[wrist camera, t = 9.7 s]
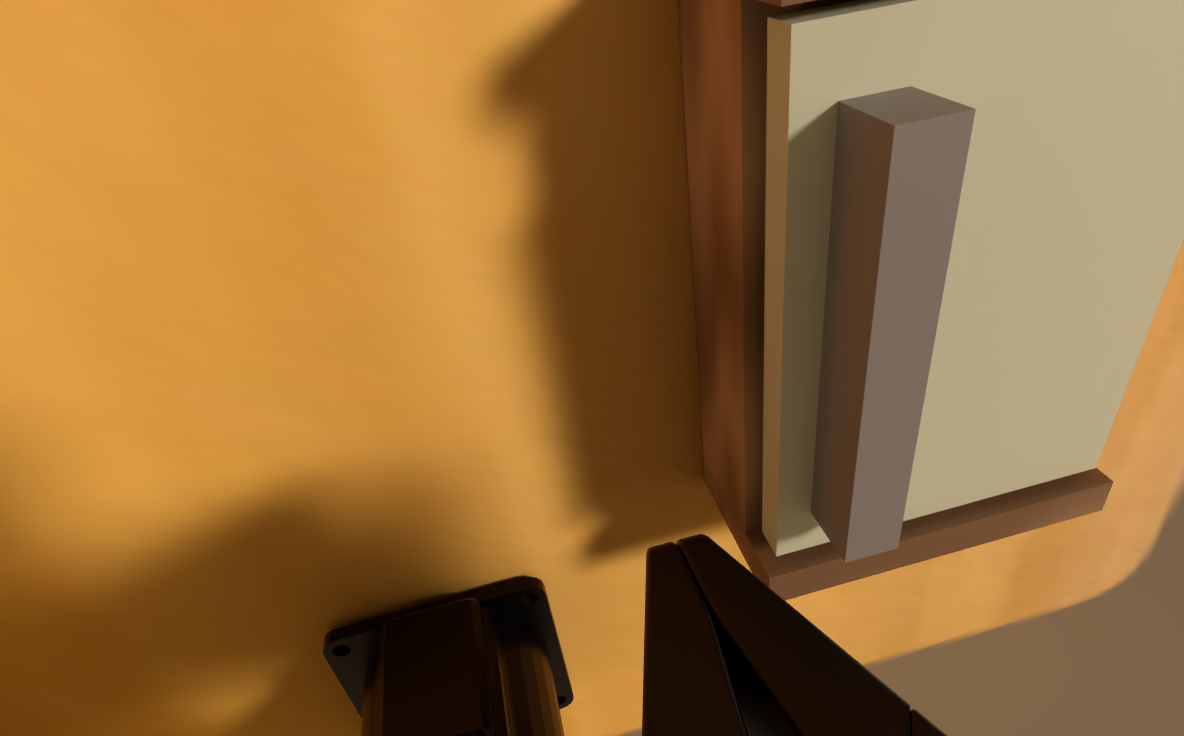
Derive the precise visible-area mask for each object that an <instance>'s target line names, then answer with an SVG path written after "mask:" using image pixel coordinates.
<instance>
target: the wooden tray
mask: <svg viewBox="0 0 1184 736" xmlns="http://www.w3.org/2000/svg"><path fill="white" fill-rule="evenodd" d="M849 1H855V0H679V18H680V36H681V55H682V73H683V91H684V109H685V128H686V146H687V164H688V182H689V200H690V219H691V237H692V255H693V273H694V292H695V310H696V328H697V346H698V364H699V383H700V401H701V419H702V437H703V455H704V474H705V483H706V485H707V487H708V489H709V491H710V493H711V495H712V497H713V499H714V501H715V502H716V504H717V506H718V508H719V510H720V512H721V514H722V516H723V518H724V520H725V522H726V523H727V525H728V527H729V529H730V531H731V533H732V535H733V537H734V539H735V541H736V543H737V544H738V546H739V548H740V550H741V552H742V554H743V556H744V558H745V560H746V562H747V564H748V566H749V567H750V569H751V571H752V573H753V575H755V576H756V577H757V578H758V579H759V580H761V581H762V582H763V583H764V584H765V585H767V586H768V587H769V588H770V589H771V590H773V591H774V592H775V593H776V594H777V595H779V596H780V597H781V598H782V599H783V600H788V599H791V598H795V597H798V596H802V595H805V594H809V593H812V592H816V591H819V590H823V589H826V588H830V587H833V586H837V585H840V584H844V583H847V582H851V581H854V580H858V579H862V578H865V577H869V576H872V575H876V574H879V573H883V572H886V571H890V570H893V569H897V568H900V567H904V566H907V565H911V564H914V563H918V562H921V561H925V560H928V559H932V558H935V557H939V556H942V555H946V554H949V553H953V552H956V551H960V550H963V549H967V548H970V547H974V546H977V545H981V544H984V543H988V542H992V541H995V540H999V539H1002V538H1006V537H1009V536H1013V535H1016V534H1020V533H1023V532H1027V531H1030V530H1034V529H1037V528H1041V527H1044V526H1048V525H1051V524H1055V523H1058V522H1062V521H1065V520H1069V519H1072V518H1076V517H1079V516H1083V515H1086V514H1090V513H1093V512H1097V511H1100V510H1102V509H1103V506H1104V504H1105V501H1106V499H1107V496H1108V494H1109V491H1110V489H1111V486H1112V484H1113V481H1112V480H1111V479H1109V478H1108V477H1107V476H1106V475H1104V474H1103V473H1102V472H1101V471H1099V470H1098V469H1097V468H1094V469H1090V470H1087V471H1083V472H1080V473H1076V474H1072V475H1069V476H1065V477H1062V478H1058V479H1054V480H1051V481H1047V482H1044V483H1040V484H1036V485H1033V486H1029V487H1026V488H1022V489H1018V490H1015V491H1011V492H1007V493H1004V494H1000V495H997V496H993V497H989V498H986V499H982V500H979V501H975V502H971V503H968V504H964V505H961V506H957V507H953V508H950V509H946V510H943V511H939V512H935V513H932V514H928V515H924V516H921V517H917V518H914V519H910V520H906V521H903V523H902V529H901V534H900V540H899V546H898V548H897V549H893V550H890V551H886V552H883V553H879V554H875V555H872V556H868V557H865V558H861V559H858V560H854V561H851V562H847V563H844V561H843V560H842V558H841V557H840V555H839V554H838V552H837V551H836V549H835V548H834V546H833V545H832V543H831V542H827V543H823V544H820V545H816V546H813V547H809V548H805V549H802V550H798V551H795V552H791V553H787V554H784V555H780V556H777V557H776V555H775V553H774V552H773V550H772V548H771V546H770V545H769V543H768V541H767V539H766V538H765V536H764V534H763V532H762V493H763V397H764V301H765V205H766V109H767V17H770V16H775V15H781V14H786V13H791V12H797V11H802V10H807V9H812V8H818V7H823V6H828V5H834V4H839V3H844V2H849Z"/></svg>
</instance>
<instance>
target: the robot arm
mask: <svg viewBox="0 0 1184 736" xmlns="http://www.w3.org/2000/svg"><path fill="white" fill-rule="evenodd" d="M323 653H324V656H325V658H326V660H327V661H328V663H329V665H330V666H331V668H332V670H333V671H334V673H335V674H336V676H337V678H338V679H339V681H340V683H341V684H342V686H343V688H344V689H345V691H346V693H347V694H348V696H349V698H350V699H351V701H352V703H353V704H354V706H355V708H356V709H357V711H358V712H359V714H360V716H361V717H362V730H361V736H564V731H563V726H562V720H561V715H560V710H559V709H561V708H564V707H566V706H568V705H569V704H571V702H572V701H573V692H572V687H571V683H570V680H569V676H568V672H567V668H566V665H565V661H564V657H563V654H562V650H561V646H560V642H559V639H558V635H557V631H556V627H555V624H554V620H553V616H552V613H551V609H550V605H549V601H548V598H547V594H546V590H545V586H544V584H543V582H542V581H541V580H540V579H538V578H534V577H528V578H523V579H519V580H515V581H512V582H508V583H504V584H500V585H497V586H493V587H489V588H486V589H482V590H478V591H474V592H471V593H467V594H463V595H460V596H456V597H452V598H448V599H445V600H441V601H437V602H434V603H430V604H426V605H422V606H419V607H415V608H411V609H408V610H404V611H400V612H397V613H393V614H389V615H385V616H382V617H378V618H374V619H371V620H367V621H363V622H359V623H356V624H352V625H348V626H345V627H341V628H337V629H335V630H332V631H330V632H329V633H328V634H327V635H326V637H325V639H324V648H323ZM642 736H947V735H945V734H944V733H943V732H942V731H941V730H939V729H938V728H937V727H936V726H935V725H934V724H932V723H931V722H930V721H929V720H928V719H926V718H925V717H924V716H923V715H922V714H920V713H919V712H918V711H917V710H915V709H913V710H911V712H910V705H909V704H908V703H907V702H906V701H905V700H903V699H902V698H901V697H900V696H899V695H897V694H896V693H895V692H894V691H893V690H891V689H890V688H889V687H888V686H887V685H885V684H884V683H883V682H882V681H880V680H879V679H878V678H877V677H876V676H875V675H873V674H872V673H871V672H870V671H869V670H867V669H866V668H865V667H864V666H863V665H861V664H860V663H859V662H858V661H857V660H855V659H854V658H853V657H852V656H851V655H849V654H848V653H847V652H846V651H845V650H843V649H842V648H841V647H840V646H839V645H837V644H836V643H835V642H834V641H833V640H831V639H830V638H829V637H828V636H827V635H825V634H824V633H823V632H822V631H821V630H819V629H818V628H817V627H816V626H815V625H813V624H812V623H811V622H810V621H809V620H807V619H806V618H805V617H804V616H803V615H801V614H800V613H799V612H798V611H797V610H795V609H794V608H793V607H792V606H791V605H789V604H788V603H787V602H786V601H785V600H783V599H782V598H781V597H780V596H779V595H777V594H776V593H775V592H774V591H773V590H771V589H770V588H769V587H768V586H767V585H765V584H764V583H763V582H762V581H761V580H759V579H758V578H757V577H756V576H755V575H753V574H752V573H751V572H750V571H749V570H747V569H746V568H745V567H744V566H743V565H741V564H740V563H739V562H738V561H737V560H735V559H734V558H733V557H732V556H731V555H729V554H728V553H727V552H726V551H725V550H723V549H722V548H721V547H720V546H719V545H717V544H716V543H715V542H714V541H713V540H711V539H710V538H709V537H708V536H706V535H703V534H698V535H694V536H690V537H687V538H683V539H680V540H678V541H677V543H676V544H675V543H673V542H668V543H665V544H661V545H657V546H654V547H650V548H649V549H648V550H647V554H646V591H645V634H644V677H643V719H642Z"/></svg>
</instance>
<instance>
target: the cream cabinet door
mask: <svg viewBox="0 0 1184 736" xmlns="http://www.w3.org/2000/svg"><path fill="white" fill-rule="evenodd" d="M1183 239H1184V0H855V1H849V2H844V3H839V4H834V5H828V6H823V7H818V8H812V9H807V10H802V11H797V12H791V13H786V14H781V15H775V16H770V17H767V109H766V205H765V301H764V397H763V493H762V532H763V534H764V536H765V538H766V539H767V541H768V543H769V545H770V546H771V548H772V550H773V552H774V553H775V555H776V557H777V556H780V555H784V554H787V553H791V552H795V551H798V550H802V549H805V548H809V547H813V546H816V545H820V544H823V543H827V542H831V543H832V545H833V546H834V548H835V549H836V551H837V552H838V554H839V555H840V557H841V558H842V560H843V561H844V563H847V562H851V561H854V560H858V559H861V558H865V557H868V556H872V555H875V554H879V553H883V552H886V551H890V550H893V549H897V548H898V546H899V540H900V534H901V529H902V523H903V521H906V520H910V519H914V518H917V517H921V516H924V515H928V514H932V513H935V512H939V511H943V510H946V509H950V508H953V507H957V506H961V505H964V504H968V503H971V502H975V501H979V500H982V499H986V498H989V497H993V496H997V495H1000V494H1004V493H1007V492H1011V491H1015V490H1018V489H1022V488H1026V487H1029V486H1033V485H1036V484H1040V483H1044V482H1047V481H1051V480H1054V479H1058V478H1062V477H1065V476H1069V475H1072V474H1076V473H1080V472H1083V471H1087V470H1090V469H1094V468H1096V467H1097V464H1098V462H1099V459H1100V456H1101V454H1102V451H1103V449H1104V446H1105V443H1106V441H1107V438H1108V436H1109V433H1110V430H1111V428H1112V425H1113V422H1114V420H1115V417H1116V415H1117V412H1118V409H1119V407H1120V404H1121V402H1122V399H1123V396H1124V394H1125V391H1126V388H1127V386H1128V383H1129V381H1130V378H1131V375H1132V373H1133V370H1134V367H1135V365H1136V362H1137V360H1138V357H1139V354H1140V352H1141V349H1142V347H1143V344H1144V341H1145V339H1146V336H1147V333H1148V331H1149V328H1150V326H1151V323H1152V320H1153V318H1154V315H1155V312H1156V310H1157V307H1158V305H1159V302H1160V299H1161V297H1162V294H1163V292H1164V289H1165V286H1166V284H1167V281H1168V278H1169V276H1170V273H1171V271H1172V268H1173V265H1174V263H1175V260H1176V258H1177V255H1178V252H1179V250H1180V247H1181V244H1182V242H1183Z"/></svg>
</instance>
